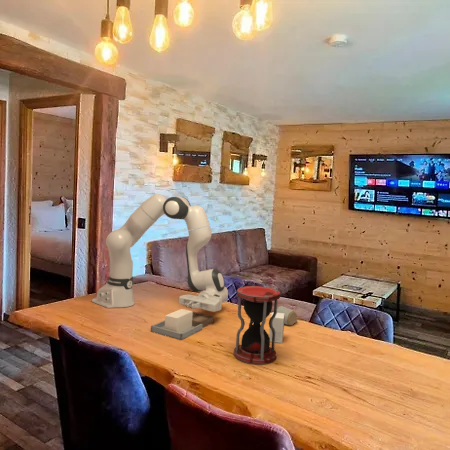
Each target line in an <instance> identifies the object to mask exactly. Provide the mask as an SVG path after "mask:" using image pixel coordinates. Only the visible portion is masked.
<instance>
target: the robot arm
mask: <svg viewBox="0 0 450 450" xmlns="http://www.w3.org/2000/svg"><path fill="white" fill-rule="evenodd" d="M163 215H165V216H166V217H168V218H169V219H171V220H172V219H174V220H183V221H184V222H185V225H186V226H187V231H188V240H187V242H186V243H185V244H186V245H185V255H186V265H187V267H186V268H187V286H188V287H189V289H190V290H192V291H193V292H195V293H198V294H197V295H194V294H183V295H179V296H178V304H179V305H182V306H186V307H187V308H188V309H192V310H193V309H199V310H204V311H208V312H215V313H216V312H219V311H221V310H222V306H223V303H224V302H226V301H227V299H228V297H229V291H228V288H227V287H226V286H225V285H226V281H225V278H224V277H225V276H224V275H223V273H222V272H221V271H220V270H219V269H218V268H212V269H211V268H210V269H206V270H201V271H200V270H199V263H198V253H199V251H200V250H201V249H202V248H204V247H205V246H206V245H207V244H209V242H210V240H211V239H212V229H211V224H210V222H209V218H208V215H207V213H206V211H205V208H204V207H202V206H199V205H195V206H194V205H193V206H192V205H191V203H190V201H189V200H188V199H187V198H185V197H183V196H179V195H177V196H170V197H169V198H166V197H165V196H164V195H162V194H160V193H154V194H153V195H151V196H150V197H149V198H147V199H145V201H143V202H142V203H141V204H140V205H139V206H138V208H136V209H135V210H134V211H133V212H132V213H131V214H130V215H129V217H128V219H127V220H126V221H125V222H124V223H123V225H122V226H121V227H120V228H118V229H114V230H112V231H111V232H110V233H109V234H108V235H107V237H106V239H105V244H106V247H107V249H108V254H109V260H110V261H109V262H110V266H109V267H110V269H109V272H110V275H109V276H108V277H107V276H106V278H105V280H106V281H107V282H106V283H105V284H104V285H103V286H101V287H100V288H98V290H97V291H96V297H94V298H91V302H92V303H94V304H97V305H99V306H101V307H104V308H107V309H109V308H110V309H111V308H128V307H131V306H134V305H135V303H136V302H135V299H134V291H133V290H134V289H133V284H134V276H133V268H134V267H133V266H134V261H133V259H132V253H131V248H132V247H134V246H135V245H136V243H137V242H138V241H140V239H141V237H143V236H144V235H145V233H146V232H147V231H148V230H149V229H150V228H152V227H153V225H154V224H155V223H156V222H157V221H158V220H159V219H160V218H161V217H162V216H163Z"/></svg>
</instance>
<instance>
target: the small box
mask: <svg viewBox="0 0 450 450" xmlns="http://www.w3.org/2000/svg"><path fill="white" fill-rule="evenodd" d="M273 313H274V311H271V315H270V318H271V317H272V315H273ZM270 318H269V319H270ZM284 319H285V313H277V314H276V316H275V318H274V319H273V322H272V326H273V328H274V329H275V343H278V344H283V340H284V330H285V324H284ZM268 336H269V338H270V343H272V330H271V328H270V327H269V333H268Z"/></svg>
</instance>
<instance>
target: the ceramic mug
mask: <svg viewBox="0 0 450 450" xmlns="http://www.w3.org/2000/svg"><path fill="white" fill-rule="evenodd" d="M277 313H285V319H284V325H286V326H293V325H294V324H295V323H297V322H298V317H297V316H298V315H297V312H296V311H295V310H292V309H290V308H288V307H286V306H283V305H280V306H277Z"/></svg>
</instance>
